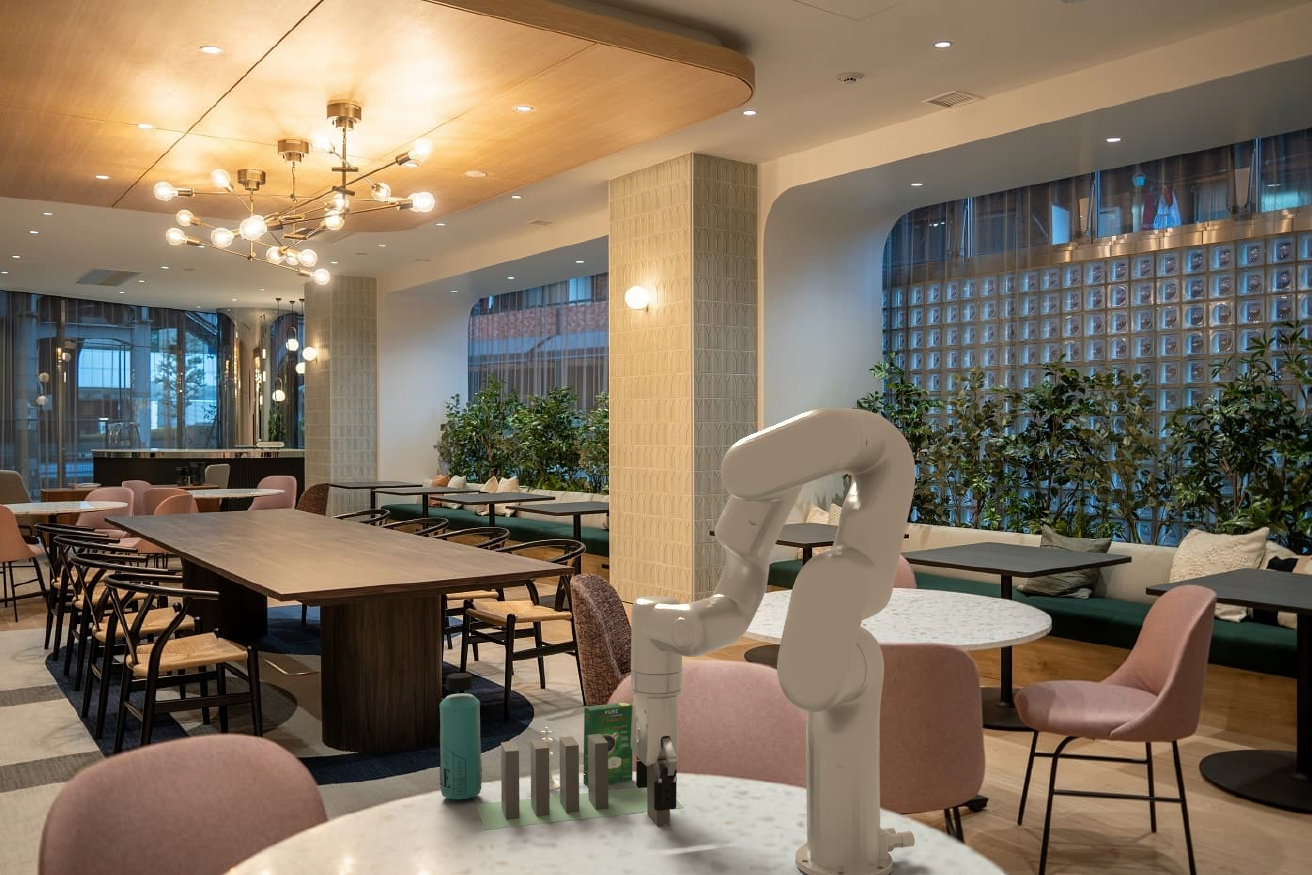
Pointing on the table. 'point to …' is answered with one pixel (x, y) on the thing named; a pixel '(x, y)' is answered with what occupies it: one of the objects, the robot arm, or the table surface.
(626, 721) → the coffee box
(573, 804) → the domino
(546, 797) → the domino
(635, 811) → the mat
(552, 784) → the chess piece
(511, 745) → the domino
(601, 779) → the domino
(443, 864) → the table surface
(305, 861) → the table surface
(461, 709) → the beverage bottle
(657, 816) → the domino
